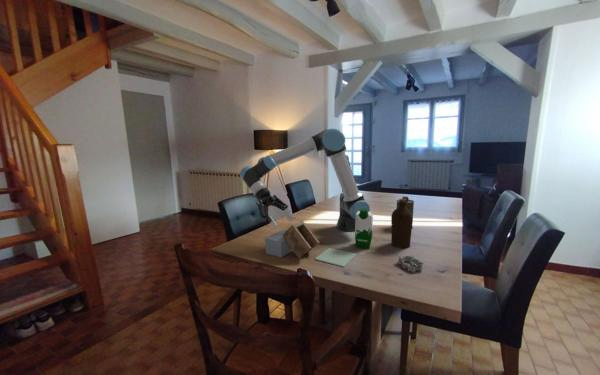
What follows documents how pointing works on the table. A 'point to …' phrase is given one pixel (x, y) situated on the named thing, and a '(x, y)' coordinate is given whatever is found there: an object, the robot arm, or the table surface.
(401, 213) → the olive oil
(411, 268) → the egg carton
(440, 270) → the table surface
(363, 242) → the milk carton
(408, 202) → the canister
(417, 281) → the table surface
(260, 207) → the robot arm
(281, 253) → the blue-grey rectangular block
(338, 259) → the mat
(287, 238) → the grooved wooden block
